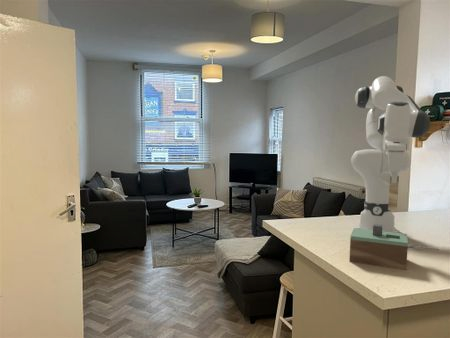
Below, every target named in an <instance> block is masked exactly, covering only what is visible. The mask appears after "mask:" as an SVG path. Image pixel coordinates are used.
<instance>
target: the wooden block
mask: <svg viewBox="0 0 450 338" xmlns="http://www.w3.org/2000/svg"><path fill="white" fill-rule="evenodd" d="M399 178H400V176H399V175H398V176H397V183H392V182H391V180H392V176H391V174H390V175H389V183H388V184H389V202H388V210H391V212H392V211H395V212H397V211H398V198H399V195H398V194H399Z"/></svg>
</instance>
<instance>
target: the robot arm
mask: <svg viewBox="0 0 450 338" xmlns="http://www.w3.org/2000/svg"><path fill="white" fill-rule="evenodd" d="M354 100H355V104H356V106H357V107H358V108H360V109H370V110H368V112H367V114H366V120H365V134H366V135H365V137H366V142H367V143H368V145H369V146H370V147H372V148H374V149H369V148H368V149H360V150H355V151H354V153H353V154H352V156H351V158H350V163H351V167H352V169H354V171H355V172H357V173H358V174H359V175H360V176H361V178H362V180H363V181H364V186H365V200H364V203H363V208H364V209H363V210H362V211H361V212H360V215H359V216H360V219H359V224H357V225H356V226H355V228H358V229H367V230H373V224H380V225H383V227H382V231H384V232H393V233H399V231H398V229H397V228H396V227H395V215H394V214H393V213H392V210H388V202H389V184H390V183H389V182H387V181H385V180H383V179H381V178H380V177H379V174H390V175H391V176H392V180H391V182H392V183H397V176H399V174H400V173H405V172H407V171H408V170H409V169H410V168H411V162H412V160H411V157H410V154H409V153H408V152H407V151H409V150H410V140H411V139H410V138H415V139H421V138H422V137H424V136H425V135H426V134H428V132H429V131H430V129H431V120H430V117H429V116H428V114H427V113H426V112H424V111H423V110H422V109H421V108H420V107H419V106H418V104H417V103H416V101H414V99H413V98H412V97H411V96H409V95H408V94H405V92H404V89H403V87H402V86H401V85H396V83H395V81H394V80H393V79H392V78H391V77H389V76H386V75H382V76H381V75H380V76H378V77H377V78H375V79H374V80H373V81H372V83H371V85H369V86H368V85H366V86H362V87H359V89H357V90H356V93H355V96H354Z"/></svg>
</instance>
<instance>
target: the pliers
mask: <svg viewBox="0 0 450 338" xmlns="http://www.w3.org/2000/svg"><path fill="white" fill-rule="evenodd" d="M425 248H426V249H427V248H428V249H427V250H435V249H437V250H436V251H439V248H438V247H437V248H436V247H433V246H432V247H431V246H424V245H423V246H422V245H418V246H417V245H414V244H412V243H408V250H418V251H421V250H425Z"/></svg>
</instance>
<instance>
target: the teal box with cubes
mask: <svg viewBox="0 0 450 338" xmlns="http://www.w3.org/2000/svg"><path fill="white" fill-rule="evenodd" d="M382 227H383V225H380V224H373V230H367V229H358V228H356V227H355V228H352V231H351V235H350V239H352V240H360V241H368V242H375V243H383V244H391V245H399V246H407V247H408V244H409V242H408V241H409V240H408V233H400V232H398V233H393V232H384V231H382ZM350 239H349V240H350Z"/></svg>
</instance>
